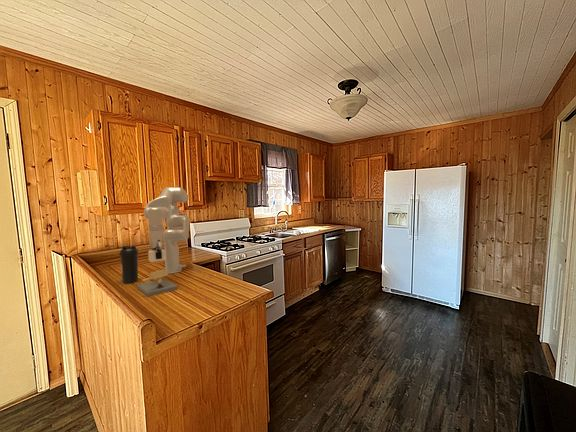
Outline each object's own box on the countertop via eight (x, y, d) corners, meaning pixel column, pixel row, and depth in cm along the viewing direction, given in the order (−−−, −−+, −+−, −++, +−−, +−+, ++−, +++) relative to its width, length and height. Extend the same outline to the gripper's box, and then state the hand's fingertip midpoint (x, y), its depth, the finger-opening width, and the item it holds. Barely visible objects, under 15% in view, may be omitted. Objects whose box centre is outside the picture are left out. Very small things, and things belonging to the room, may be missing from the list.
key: (142, 291, 139) (141, 274, 139) (165, 284, 152) (165, 268, 151) (145, 292, 138) (144, 275, 138) (168, 284, 150) (167, 269, 150)
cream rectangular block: (162, 258, 160) (162, 248, 159) (165, 259, 155) (165, 250, 155) (148, 260, 154) (148, 250, 154) (151, 262, 150) (150, 252, 149)
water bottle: (123, 280, 168) (121, 245, 166) (140, 278, 171) (139, 244, 170) (119, 285, 158) (117, 248, 157) (137, 282, 162) (136, 246, 160)
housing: (165, 281, 164) (165, 278, 163) (177, 289, 149) (177, 285, 149) (137, 287, 152) (137, 284, 152) (147, 296, 138) (147, 292, 138)
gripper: (145, 227, 157) (146, 256, 158) (153, 230, 145) (154, 261, 146) (158, 226, 162) (159, 254, 164) (167, 228, 150) (168, 259, 151)
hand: (157, 257), depth 155 cm, fingers closed on cream rectangular block, 6 cm apart
